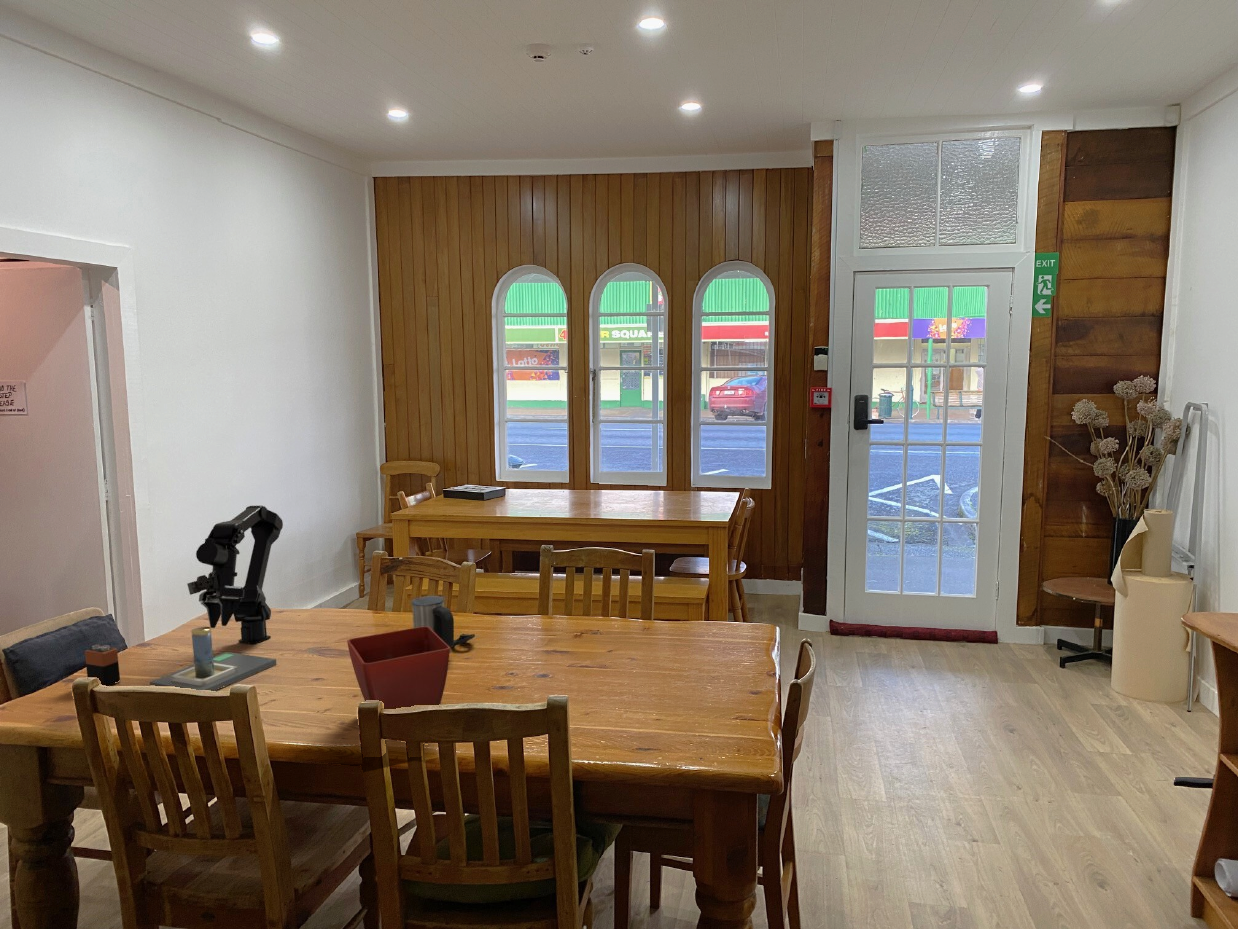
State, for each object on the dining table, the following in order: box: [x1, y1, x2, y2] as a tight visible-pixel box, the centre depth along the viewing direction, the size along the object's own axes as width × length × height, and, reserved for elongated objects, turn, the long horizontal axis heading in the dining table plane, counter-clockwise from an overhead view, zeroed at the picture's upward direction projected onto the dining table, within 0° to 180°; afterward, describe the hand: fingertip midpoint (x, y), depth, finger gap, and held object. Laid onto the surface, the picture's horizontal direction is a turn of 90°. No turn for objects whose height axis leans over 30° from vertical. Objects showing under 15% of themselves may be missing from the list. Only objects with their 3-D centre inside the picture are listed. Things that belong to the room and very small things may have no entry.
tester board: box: [149, 651, 277, 692], centre depth 226 cm, size 24×18×3 cm
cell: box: [190, 626, 215, 678], centre depth 221 cm, size 4×4×12 cm
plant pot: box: [346, 626, 451, 709], centre depth 197 cm, size 19×19×17 cm
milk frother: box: [410, 595, 476, 649], centre depth 242 cm, size 14×16×15 cm
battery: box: [84, 644, 121, 687], centre depth 222 cm, size 4×7×10 cm, turn 67°
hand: (218, 627), depth 233 cm, fingers open, 9 cm apart
